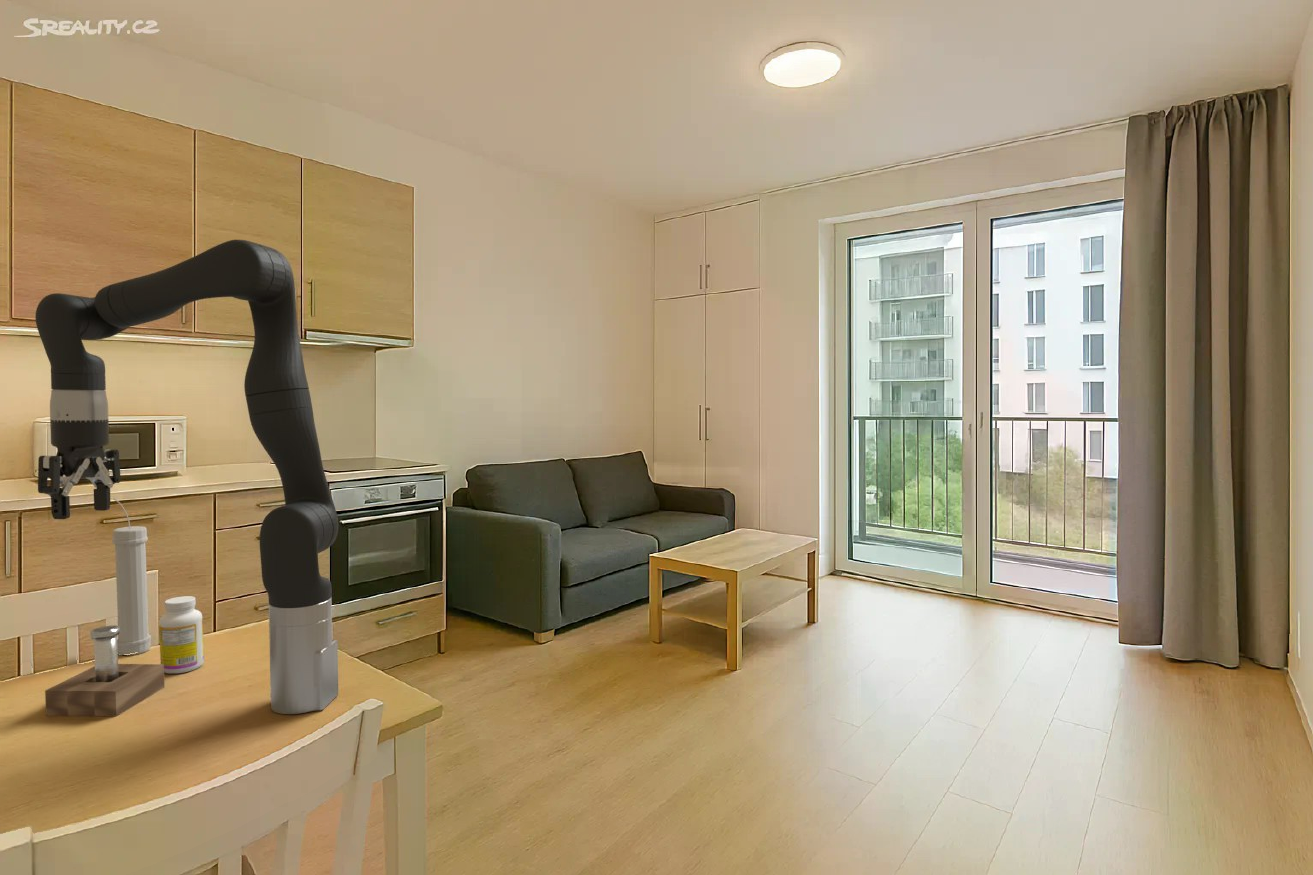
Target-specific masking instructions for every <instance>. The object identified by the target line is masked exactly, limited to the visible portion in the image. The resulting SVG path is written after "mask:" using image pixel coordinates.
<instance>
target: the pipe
mask: <svg viewBox="0 0 1313 875" xmlns="http://www.w3.org/2000/svg"><path fill="white" fill-rule="evenodd" d="M113 500H114V501H115V502H117V503H118V504H119V505H120V507H121V508H122V510H123V511H124V514H125V515H126V519H127V522H128V526H124V527H118V528H115V529H113V530H112V542H111V543H112V544H113V545H114V550H115V575H116V602H117V604H116V605H117V626H119V627H120V634H119V635H117V637H118V638H117V649H118V655H119V656H122V655H124V654H130V653H135V652H138V653H136V654H130V655H129V656H136V655H139V654H140V655H141V654H143V653H146V652H148V651H150V649H151V644H152V642H151V639H152V635H151V634H149V611H148V609H149V608H148V586H147V585H148V582H147V581H148V579H147V554H146V553H147V551H146V550H147V549H146V542H148V541H149V537H148V531H147V527H146V526H141V525H140V526H137V525H135V526H133V525H132V526H131V522H130V518H129V516H128V513H127V511H126V509H125V507H124V506H123V505H122V503H121V502H120V501H119V500H118V499H116V498H115V497H114V498H113ZM127 657H128V655H127Z"/></svg>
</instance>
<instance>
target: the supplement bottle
mask: <svg viewBox="0 0 1313 875" xmlns="http://www.w3.org/2000/svg"><path fill="white" fill-rule="evenodd" d="M196 603H197V602H196V597H195V596H191V595H189V596H188V595H186V596H177V597H172V598H168V599H166V600H165V601H164V609H165V611H166V613H164V614H163V615H162V616H161V617H160V618H159V621H158V630H159V631H158V633H159V650H160V651H159V653H160V664H164V674H171V675H174V674H183V673H188V672H192V671H194V670H196V669H198V668H200V667H202V666H203V664H204V662H205V655H204V654H205V652H204V651H205V650H204V626H203V614H202V612H201V611H200V610H198V609H195V607H196V605H197V604H196Z"/></svg>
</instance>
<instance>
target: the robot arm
mask: <svg viewBox="0 0 1313 875" xmlns="http://www.w3.org/2000/svg"><path fill="white" fill-rule="evenodd" d="M292 269H293V268H292V266H291V264H290V262H289V260H288V258H286V256H285V255H284V254H283V253H281V252H280V251H279V250H277V249H275V248H272V247H270V246H266V245H264V244H259V243H257V242H252V241H250V240H246V239H232V240H231V239H230V240H227V241H224V242H222V243H220V244H217V245H214V246H212V247H210V248H209V249H206V250H205V251H202V252H201V253H199V254H196V255H194V256H193V257H190V258H188V259H186V260H183V261H181V262H179V263H177V264H174V265H172V266H169V267H166V268H164V269H162V270H158V271H156V272H153V273H152V272H151V273H148V274H145V275H142V276H137V277H134V278H130V279H127V280H123V281H118V282H115V283H112V284H109V285H106V286H104V287H102V288H101V289H99V290H98V292H97V293H96V294H95V297H94V296H93V297H89V296H88V297H87V296H82V295H81V296H80V295H73V294H68V293H60V292H57V293H50V294H48V295H45V296H44V297H43V298H42V299H41V300H40V301H39V303H38V305H37V307H36V310H35V316H34V317H35V325H36V327H37V329H36V330H37V331H38V334H39V337H40V339H41V343H42V345H43V349H44V350H45V354H46V356H47V358H48V359H47V360H48V362H49V366H50V386H51V387H50V389H51V390H50V393H51V394H50V399H49V422H50V423H49V424H50V425H49V427H50V444H51V446H53V447H55V448H56V450H57V452H56V455H40V456H39V457H38V464H37V465H38V469H37V470H38V472H37V474H38V475H37V492H38V493H39V494H44V495H48V496H49V497H50V504H51V505H50V506H51V508H50V509H51V510H50V511H51V516H52V518H53V519H54V520H67V519H70V517H71V508H70V507H71V504H70V503H71V502H70V495H69V494H70V492H71V490H72V489H73V486H75V485H77V484H78V483H79V481H80V480H84V479H87V480H89V481H90V482H91V484H92V485H93V486H94V488H93V509H94V510H95V511H109V510H110V508H111V504H112V502H111V489H112V488H113V487H114V485H115V484H119V483H121V478H122V477H121V464H120V450H118V449H114V448H109V449H108V448H105V449H104V446H108V445H109V442H110V434H109V433H110V431H109V430H110V428H109V403H108V397H107V391H106V390H107V387H106V386H107V384H106V365H105V361H104V360H103V358H101V357H100V356H99V355H96V354H93V353H89V352H88V351H87V350H86V348H85V345H84V343H83V341H82V340H88V341H95V340H104V339H108V338H111V337H114V336H116V335H118V334H120V333H122V332H124V331H125V330H127V329H129V328H130V327H133V326H134V327H135V326H140V325H142V324H146V323H151V322H154V321H157V320H161V319H163V318H167V317H168V316H171V315H173V314H175V313H176V312H178V311H179V310H181V309H182V308H183V307H184V306H186V305H189V304H191V303H193V302H197V301H199V300H205V299H206V300H207V299H215V298H234V299H238V300H240V301H247V302H248V305H249V308H250V312H251V317H252V323H253V331H254V341H253V348H252V352H251V355H250V358H249V361H248V364H247V367H246V372H245V376H244V384H243V385H244V387H243V388H244V395H245V400H246V405H247V411H248V415H249V420H250V425H251V427H252V430H253V432H254V433H255V436H256V438H257V439H258V441H259V443H260V444H261V446H262V447H263V449H264V451H265V452H266V453H267V455H268V457H269V458H270V459H271V461H272V462H273V464H274V466H275V467H276V469H277V472H278V474H279V477H280V481H281V485H282V491H283V496H284V505H280V506H279V507H276V508H274V509H272V510H271V511H269V513H267V514H266V516H265V517H264V519H263V520H262V523H261V526H260V531H259V554H260V555H259V556H260V567H261V579H262V584H263V587H264V590H265V591H266V594H267V595H268V621H269V622H268V628H269V629H268V630H269V632H268V633H269V637H268V638H269V676H270V678H269V680H270V681H269V682H270V683H269V684H270V706H271V710H272V711H273V712H275V713H277V714H284V715H297V714H305V713H308V712H313V711H322V710H324V709H325V708H326V707H327V706H329V705H330V703H331V702H332V701H333V700H334V699H335V698H336V697H337V696H339V650H338V649H339V648H338V645H339V644H338V640H337V639H333V615H332V614H333V609H332V608H333V606H332V603H333V602H332V599H333V596H332V595H333V592H332V582H331V580H330V579H329V578H327V577H325V576H322V575H321V574H320V568H319V567H320V566H319V554H320V553H322V552H325V551H327V550H328V549H329V548H330V547H332V545H334V543H335V541H336V540H337V536H338V533H339V526H340V525H339V517H338V513H337V510H336V507H335V503H334V500H333V497H332V493H331V490H330V487H329V484H328V481H327V480H328V479H327V476H326V473H325V470H324V466H323V461H322V455H321V454H322V453H321V449H320V444H319V439H318V433H317V430H316V424H315V423H316V422H315V417H314V410H313V409H314V408H313V404H312V398H311V393H310V388H309V383H308V378H307V375H306V371H305V364H304V357H303V352H302V346H301V344H302V343H301V340H300V334H299V333H300V332H299V329H298V328H299V326H298V316H297V315H298V314H297V301H296V300H297V299H296V288H295V287H296V286H295V278H294V273H293V270H292ZM110 471H111V474H112V475H111V476H110ZM48 479H50V485H48ZM61 486H62V487H61Z"/></svg>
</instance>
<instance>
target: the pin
mask: <svg viewBox="0 0 1313 875" xmlns="http://www.w3.org/2000/svg"><path fill="white" fill-rule="evenodd" d="M119 634H120V627H119V626H118V625H116V624H115V625H104V626H100V627H99V626H98V627H95V628H93V629H91V630H90V639H91V640H93V648H94V649H93V651H94V654H93V657H94V666H95V680H96V682H112V681H114V680H115V679H117V678H119V675H118V664H119V658H118V657H119V656H118V655H119V654H118V649H117V640H118V635H119Z"/></svg>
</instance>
